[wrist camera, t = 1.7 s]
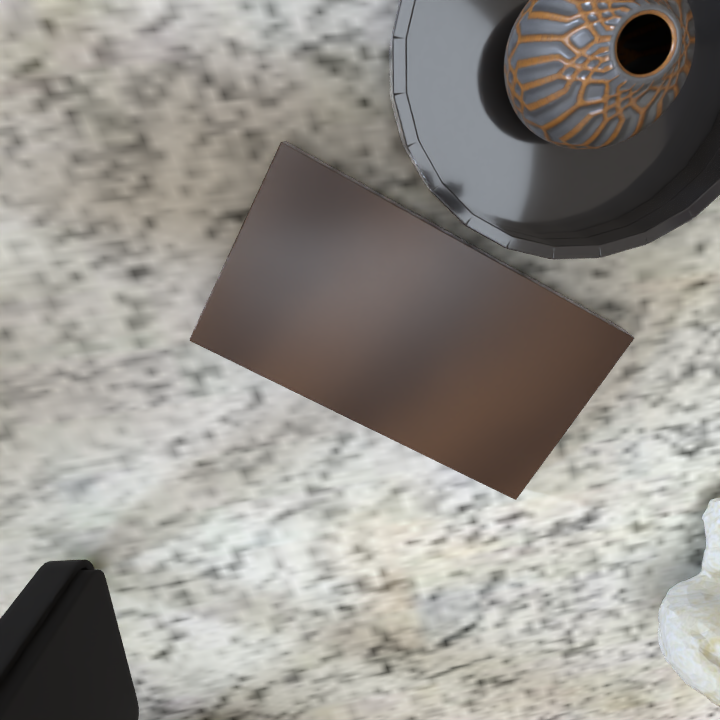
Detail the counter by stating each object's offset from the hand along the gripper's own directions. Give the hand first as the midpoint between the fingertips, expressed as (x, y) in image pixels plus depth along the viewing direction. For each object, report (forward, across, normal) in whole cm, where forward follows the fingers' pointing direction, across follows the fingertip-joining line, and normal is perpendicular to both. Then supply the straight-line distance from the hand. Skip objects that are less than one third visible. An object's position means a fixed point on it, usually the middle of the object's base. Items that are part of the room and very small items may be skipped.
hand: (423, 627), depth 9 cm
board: (+25, -1, +3) cm, 25 cm away
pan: (+25, -8, -9) cm, 28 cm away
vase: (+25, -8, -9) cm, 28 cm away
